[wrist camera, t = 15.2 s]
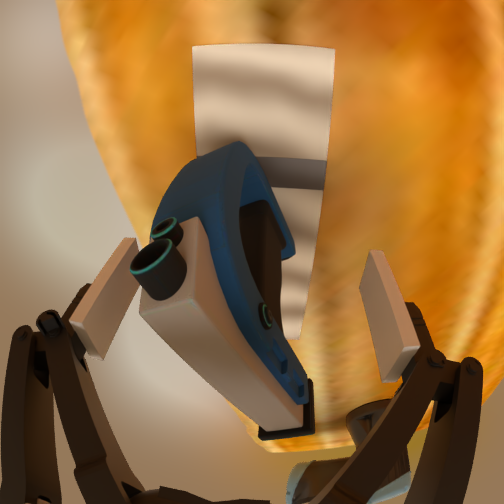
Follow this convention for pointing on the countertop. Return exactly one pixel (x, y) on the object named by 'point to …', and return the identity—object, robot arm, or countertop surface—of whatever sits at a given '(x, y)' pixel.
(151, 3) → the countertop surface
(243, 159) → the handheld scanner
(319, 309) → the countertop surface
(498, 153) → the countertop surface
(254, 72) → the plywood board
